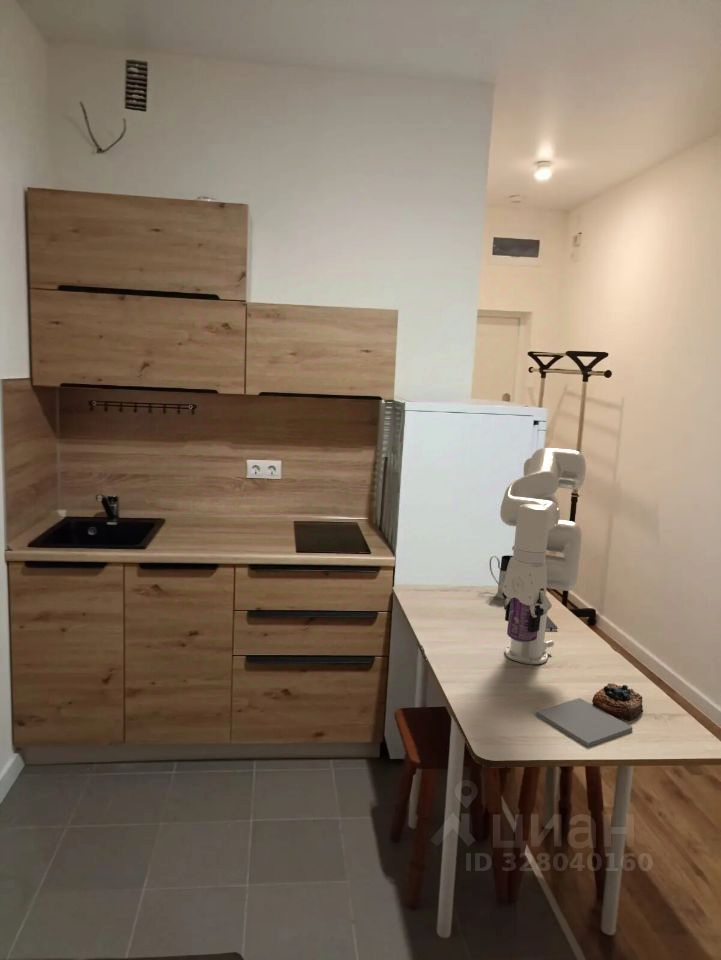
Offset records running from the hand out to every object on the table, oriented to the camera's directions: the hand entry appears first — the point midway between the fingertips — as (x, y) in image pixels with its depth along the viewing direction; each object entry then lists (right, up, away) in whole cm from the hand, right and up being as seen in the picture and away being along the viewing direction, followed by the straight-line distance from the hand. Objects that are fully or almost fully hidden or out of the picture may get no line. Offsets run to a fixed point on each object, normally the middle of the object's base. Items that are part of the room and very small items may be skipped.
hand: (521, 625), depth 166 cm
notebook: (+19, -13, +69) cm, 73 cm away
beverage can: (0, -4, +1) cm, 4 cm away
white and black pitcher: (+15, -8, +94) cm, 95 cm away
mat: (+15, -24, 0) cm, 28 cm away
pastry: (+27, -24, +9) cm, 37 cm away
